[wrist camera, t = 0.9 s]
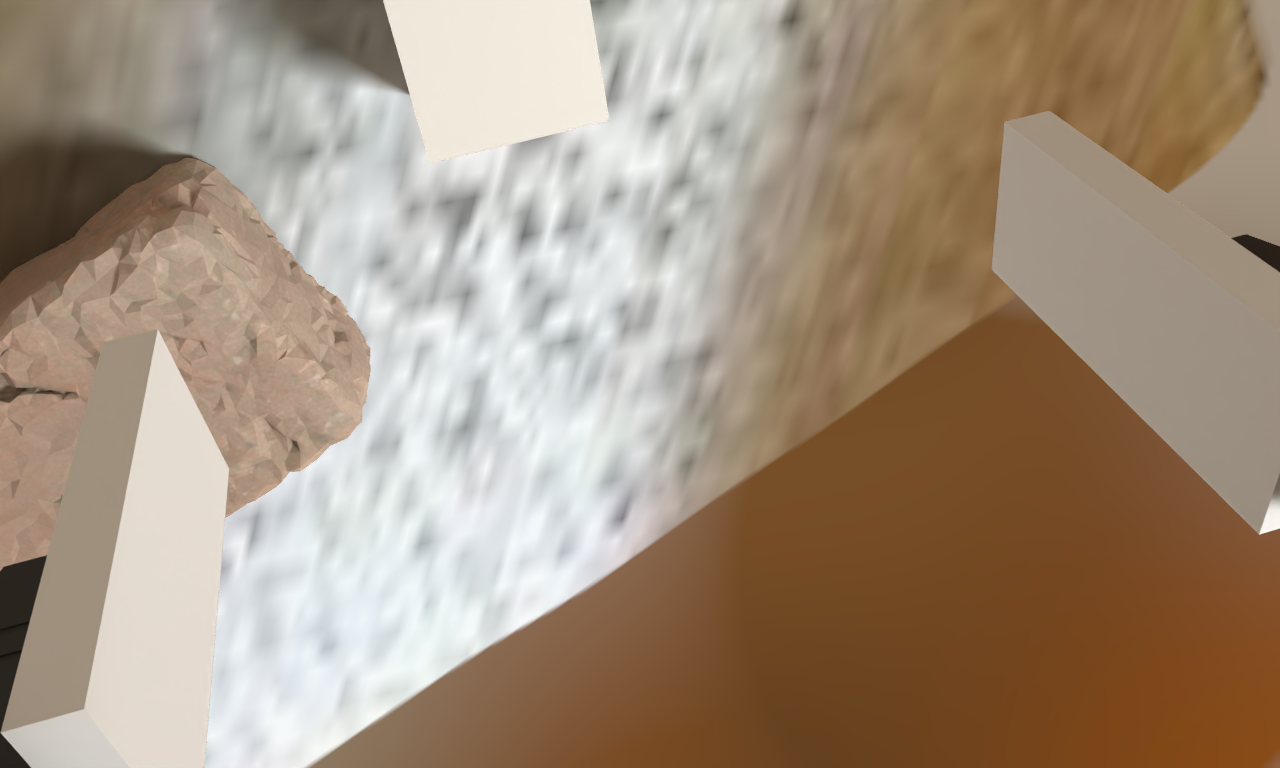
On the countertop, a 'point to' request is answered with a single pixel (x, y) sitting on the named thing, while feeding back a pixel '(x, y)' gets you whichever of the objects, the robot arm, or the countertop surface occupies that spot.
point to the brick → (172, 342)
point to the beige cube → (497, 70)
